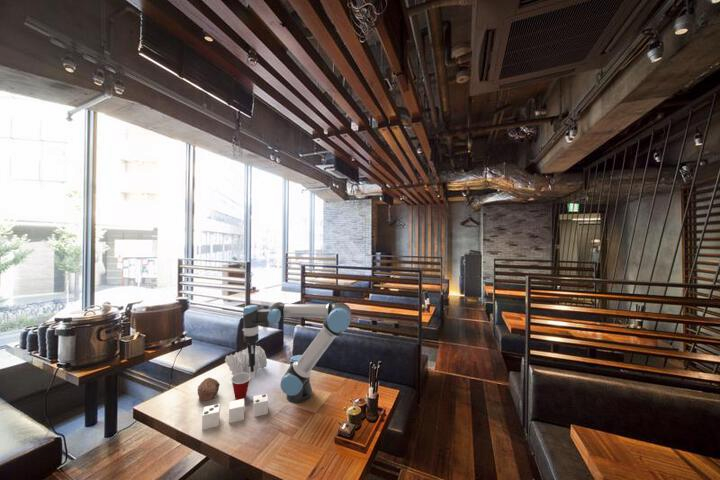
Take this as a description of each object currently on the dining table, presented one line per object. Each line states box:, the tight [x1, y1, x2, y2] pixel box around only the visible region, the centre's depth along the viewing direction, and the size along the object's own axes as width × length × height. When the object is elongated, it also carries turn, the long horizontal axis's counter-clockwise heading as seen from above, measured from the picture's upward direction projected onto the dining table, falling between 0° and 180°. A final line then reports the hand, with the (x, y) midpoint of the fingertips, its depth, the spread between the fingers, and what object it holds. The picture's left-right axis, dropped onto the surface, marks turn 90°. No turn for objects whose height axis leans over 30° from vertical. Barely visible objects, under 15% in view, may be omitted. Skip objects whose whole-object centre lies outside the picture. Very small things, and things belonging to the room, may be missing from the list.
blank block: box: [228, 398, 245, 424], centre depth 137 cm, size 7×7×7 cm
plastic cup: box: [230, 373, 252, 400], centre depth 154 cm, size 11×11×12 cm
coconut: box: [197, 377, 220, 402], centre depth 154 cm, size 13×11×10 cm
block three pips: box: [201, 403, 221, 430], centre depth 132 cm, size 7×7×7 cm
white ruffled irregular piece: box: [224, 345, 268, 377], centre depth 181 cm, size 18×18×25 cm
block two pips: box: [252, 393, 269, 418], centre depth 142 cm, size 7×7×7 cm
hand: (252, 376), depth 145 cm, fingers closed
